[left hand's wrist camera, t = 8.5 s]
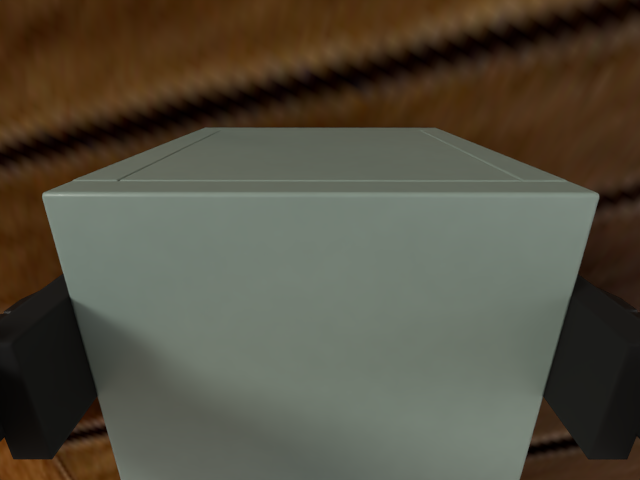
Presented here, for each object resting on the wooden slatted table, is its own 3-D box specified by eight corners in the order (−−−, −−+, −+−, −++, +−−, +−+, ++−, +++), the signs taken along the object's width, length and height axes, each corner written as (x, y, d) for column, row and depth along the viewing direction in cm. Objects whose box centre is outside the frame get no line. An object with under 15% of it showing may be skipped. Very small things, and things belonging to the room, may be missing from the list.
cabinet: (406, 401, 24) (473, 649, 13) (233, 401, 24) (166, 649, 13) (436, 127, 17) (603, 193, 7) (204, 127, 17) (38, 192, 7)
